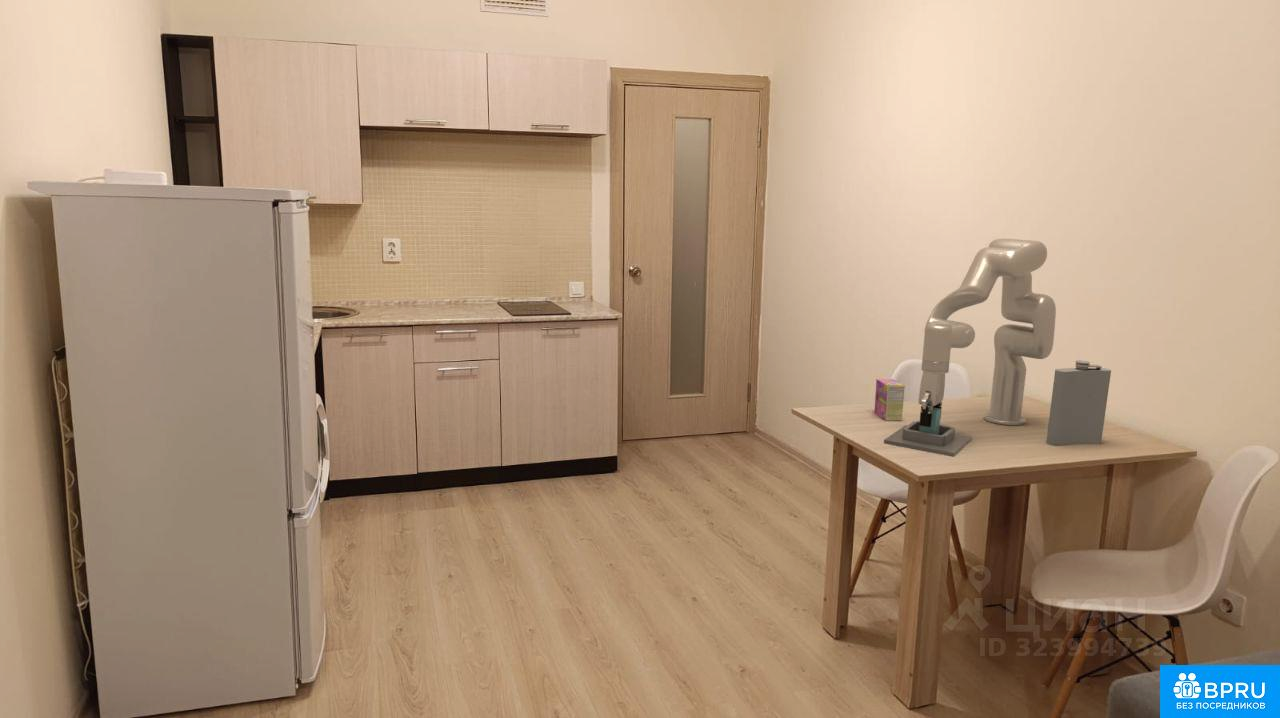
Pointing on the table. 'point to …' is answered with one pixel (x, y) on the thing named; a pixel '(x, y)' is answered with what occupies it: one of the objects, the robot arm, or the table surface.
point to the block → (933, 422)
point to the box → (889, 399)
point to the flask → (1078, 405)
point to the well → (929, 439)
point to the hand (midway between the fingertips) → (929, 422)
